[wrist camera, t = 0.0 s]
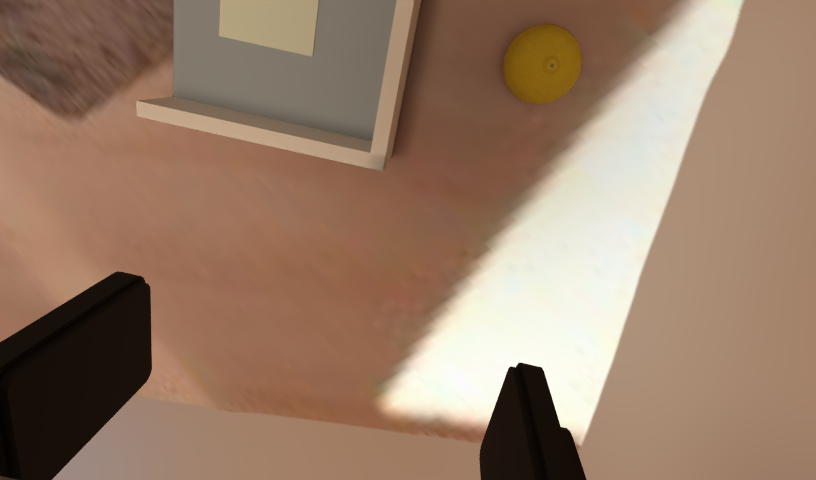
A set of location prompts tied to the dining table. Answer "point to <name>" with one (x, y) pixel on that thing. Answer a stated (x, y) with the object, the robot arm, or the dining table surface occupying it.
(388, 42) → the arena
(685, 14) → the dining table surface
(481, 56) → the dining table surface
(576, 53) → the lemon
